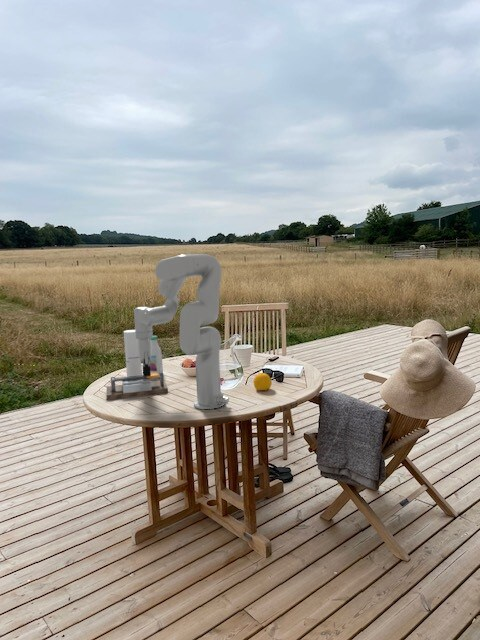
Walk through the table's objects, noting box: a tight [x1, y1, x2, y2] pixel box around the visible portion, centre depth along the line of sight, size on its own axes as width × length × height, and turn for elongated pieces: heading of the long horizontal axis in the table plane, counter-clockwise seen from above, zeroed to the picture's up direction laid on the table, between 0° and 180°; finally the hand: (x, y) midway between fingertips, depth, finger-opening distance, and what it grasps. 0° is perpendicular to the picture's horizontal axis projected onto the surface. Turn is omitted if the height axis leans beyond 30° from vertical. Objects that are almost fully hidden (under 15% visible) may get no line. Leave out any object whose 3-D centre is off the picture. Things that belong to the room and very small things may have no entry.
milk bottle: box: [149, 335, 164, 377], centre depth 229 cm, size 8×8×20 cm
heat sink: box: [110, 370, 165, 393], centre depth 202 cm, size 23×14×6 cm, turn 106°
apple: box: [253, 372, 272, 391], centre depth 198 cm, size 8×8×8 cm
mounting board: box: [106, 380, 169, 401], centre depth 203 cm, size 26×14×2 cm, turn 106°
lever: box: [112, 373, 160, 382], centre depth 202 cm, size 20×4×1 cm, turn 106°
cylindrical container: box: [123, 329, 143, 377], centre depth 217 cm, size 7×7×25 cm
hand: (146, 374), depth 204 cm, fingers closed
